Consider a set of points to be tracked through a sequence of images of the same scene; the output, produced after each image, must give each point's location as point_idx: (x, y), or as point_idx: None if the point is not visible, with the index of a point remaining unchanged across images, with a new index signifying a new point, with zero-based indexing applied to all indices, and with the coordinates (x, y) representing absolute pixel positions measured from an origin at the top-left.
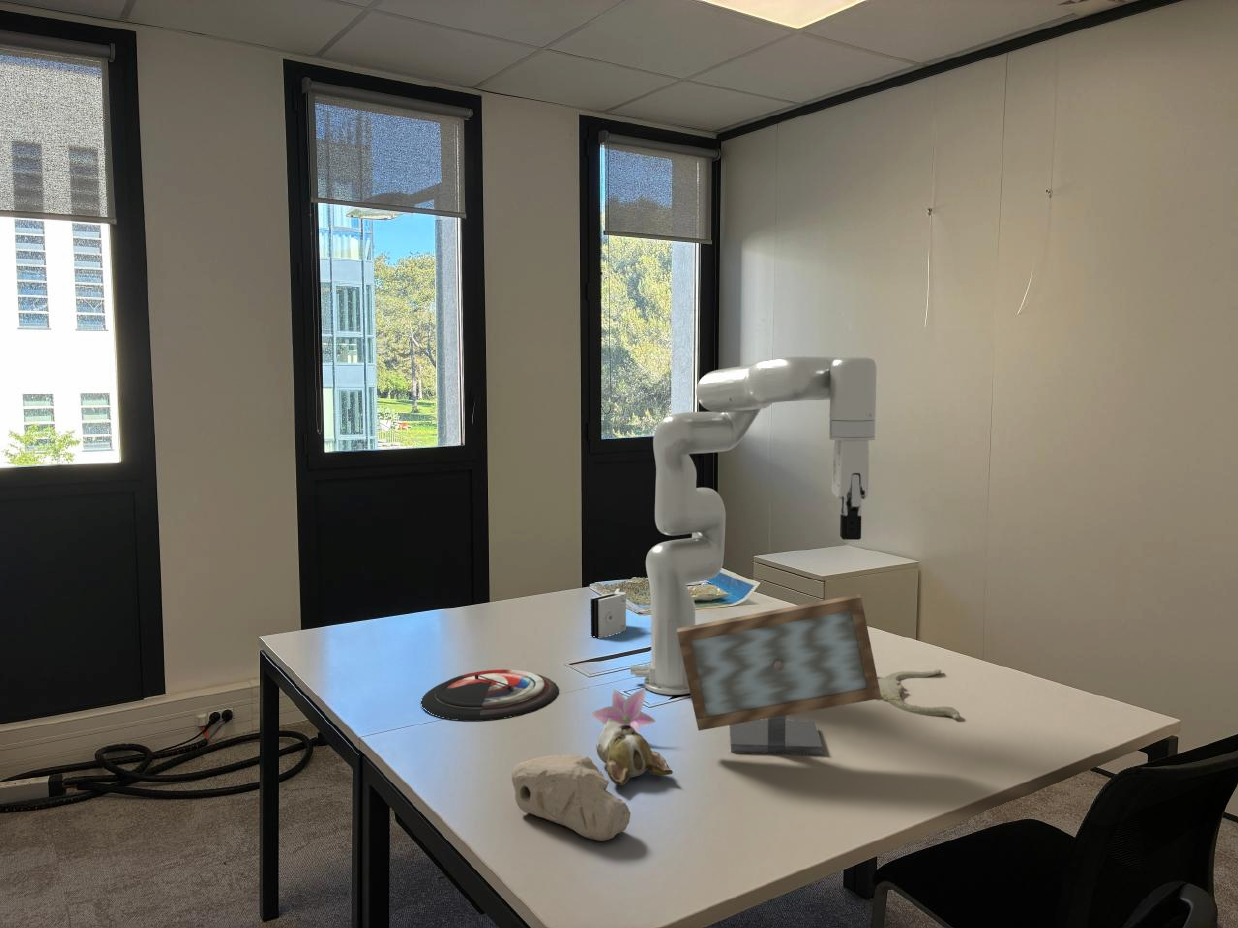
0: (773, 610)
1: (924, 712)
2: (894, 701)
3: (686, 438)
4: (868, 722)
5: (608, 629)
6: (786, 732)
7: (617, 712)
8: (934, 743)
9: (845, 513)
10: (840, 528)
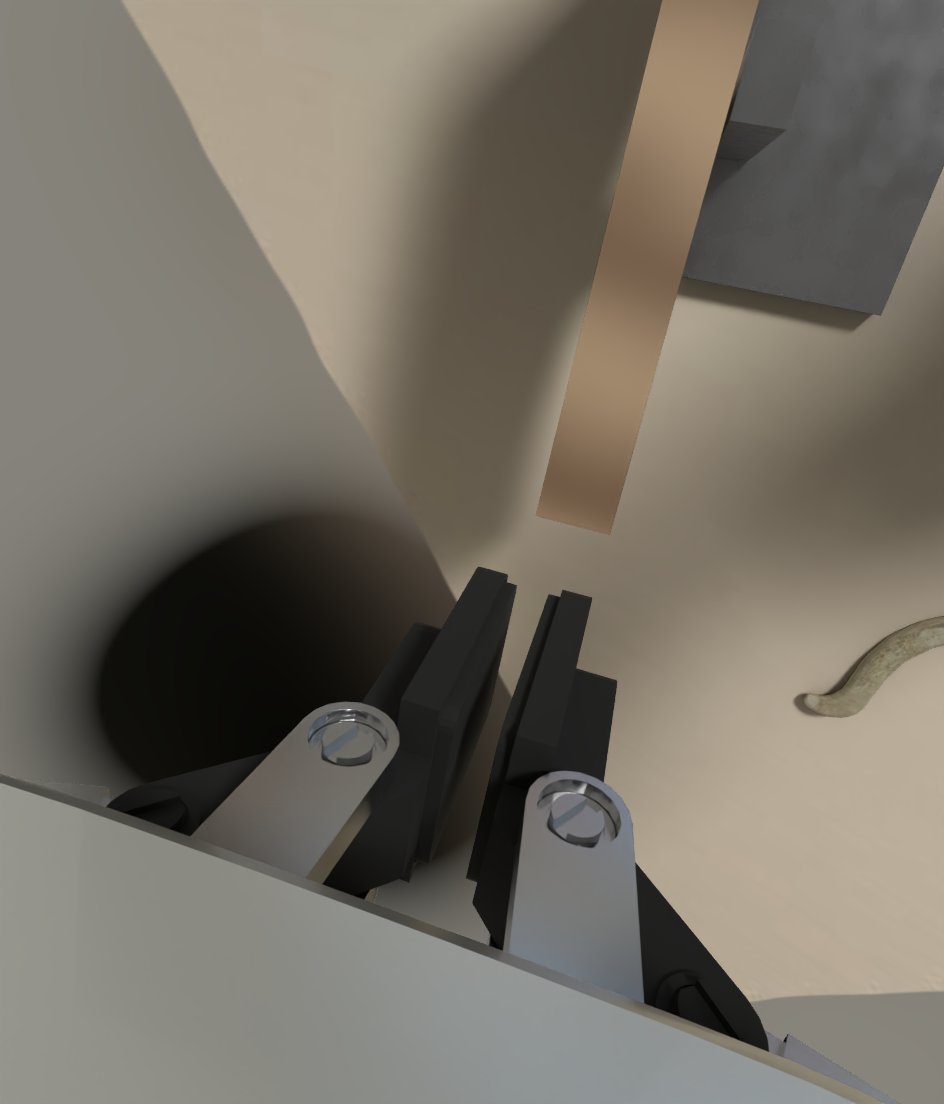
0: None
1: (874, 651)
2: None
3: None
4: (871, 489)
5: None
6: (816, 189)
7: None
8: (684, 579)
9: (297, 731)
10: (554, 632)
